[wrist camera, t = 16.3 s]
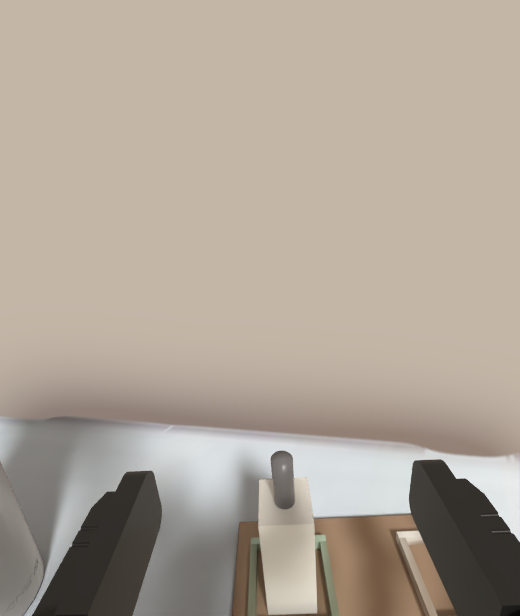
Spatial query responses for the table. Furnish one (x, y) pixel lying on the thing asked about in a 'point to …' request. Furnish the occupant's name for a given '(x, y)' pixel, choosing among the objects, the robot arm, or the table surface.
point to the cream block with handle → (287, 540)
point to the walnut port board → (353, 570)
